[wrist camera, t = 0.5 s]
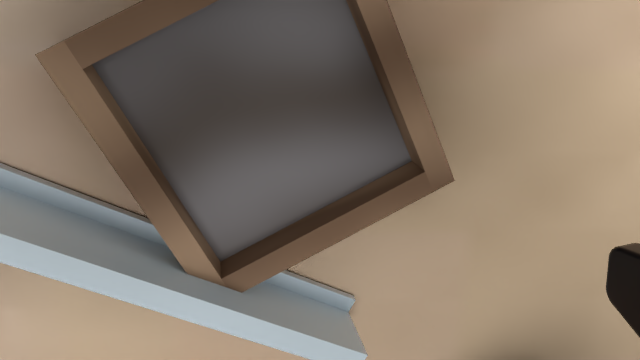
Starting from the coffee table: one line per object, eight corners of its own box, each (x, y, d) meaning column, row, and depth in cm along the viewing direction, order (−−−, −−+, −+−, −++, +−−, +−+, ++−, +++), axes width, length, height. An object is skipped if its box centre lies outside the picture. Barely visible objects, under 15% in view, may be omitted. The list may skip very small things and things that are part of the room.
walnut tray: (434, 165, 23) (454, 180, 21) (210, 282, 22) (211, 308, 21) (333, -94, 18) (348, -103, 17) (52, 48, 18) (34, 54, 16)
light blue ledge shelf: (353, 295, 24) (376, 341, 21) (329, 335, 25) (348, 386, 22) (-9, 159, 19) (-52, 194, 16) (-30, 214, 19) (-76, 259, 16)
